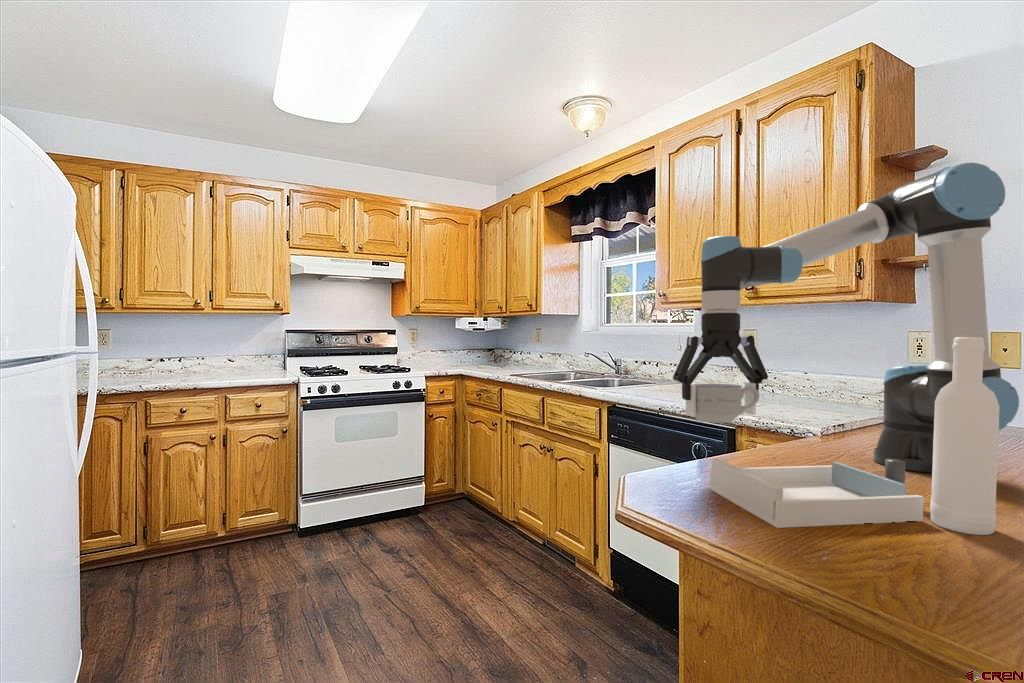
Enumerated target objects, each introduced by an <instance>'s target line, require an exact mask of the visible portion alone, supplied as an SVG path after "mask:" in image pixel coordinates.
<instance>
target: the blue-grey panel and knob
mask: <svg viewBox="0 0 1024 683" xmlns="http://www.w3.org/2000/svg"><path fill="white" fill-rule="evenodd" d="M905 464H906V462H905V461H902V460H897V459H885V465H884V476H880V475H878V474H875V473H872V472H868V471H866V470H863V469H861V468H857V467H855V466H850V465H847V464H845V463H841V462H838V461H832V462H831V465H832V483H834V484H836V485H839V486H842V487H844V488H847V489H849V490H852V491H855V492H857V493H860V494H862V495H865V496H868V497H876V496H903V495H907V494H906V493H907V484H906V470H905Z"/></svg>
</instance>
